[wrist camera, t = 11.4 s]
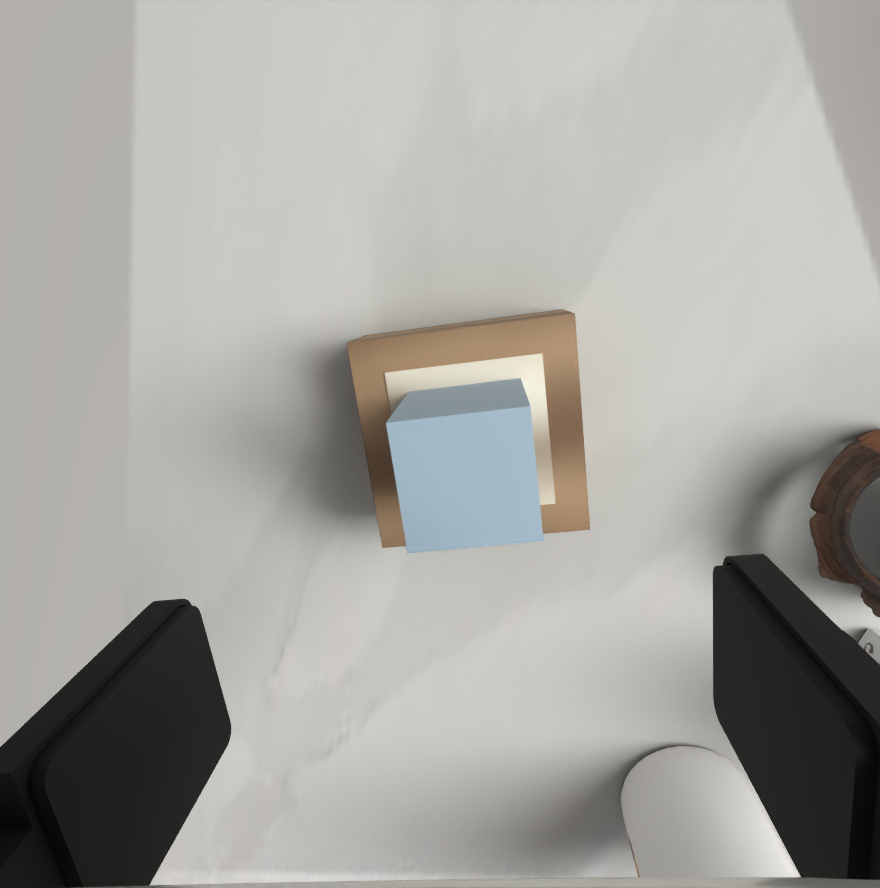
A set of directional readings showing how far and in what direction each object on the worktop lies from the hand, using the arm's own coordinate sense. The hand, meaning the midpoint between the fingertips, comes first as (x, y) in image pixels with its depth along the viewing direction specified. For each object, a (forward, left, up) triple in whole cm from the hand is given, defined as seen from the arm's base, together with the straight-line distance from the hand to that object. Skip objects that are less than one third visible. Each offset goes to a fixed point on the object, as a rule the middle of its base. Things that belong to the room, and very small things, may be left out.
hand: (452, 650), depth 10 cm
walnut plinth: (0, 0, -20) cm, 20 cm away
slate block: (0, 0, -16) cm, 16 cm away
